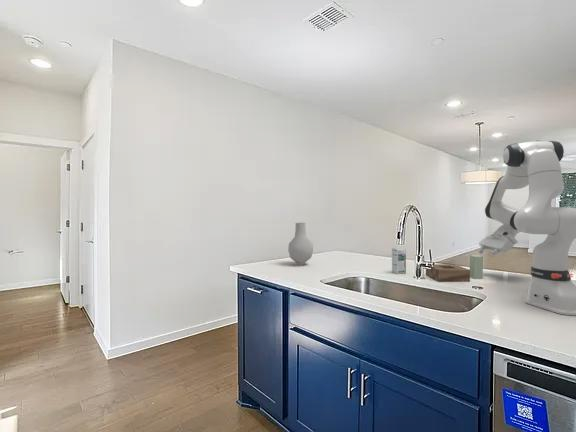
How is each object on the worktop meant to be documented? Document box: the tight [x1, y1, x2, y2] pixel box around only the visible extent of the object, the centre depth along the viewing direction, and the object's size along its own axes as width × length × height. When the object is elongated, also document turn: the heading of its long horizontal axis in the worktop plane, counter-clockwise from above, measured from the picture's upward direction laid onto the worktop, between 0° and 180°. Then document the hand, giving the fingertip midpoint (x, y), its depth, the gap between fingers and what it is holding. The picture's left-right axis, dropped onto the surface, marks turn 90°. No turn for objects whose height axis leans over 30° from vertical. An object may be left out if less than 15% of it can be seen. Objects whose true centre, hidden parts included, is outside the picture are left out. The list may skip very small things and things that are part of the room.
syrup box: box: [391, 247, 407, 275], centre depth 193 cm, size 6×6×14 cm
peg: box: [469, 254, 484, 280], centre depth 179 cm, size 4×4×12 cm
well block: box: [425, 263, 471, 283], centre depth 178 cm, size 16×16×6 cm
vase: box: [288, 222, 314, 266], centre depth 220 cm, size 17×16×28 cm
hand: (484, 254), depth 178 cm, fingers open, 8 cm apart
